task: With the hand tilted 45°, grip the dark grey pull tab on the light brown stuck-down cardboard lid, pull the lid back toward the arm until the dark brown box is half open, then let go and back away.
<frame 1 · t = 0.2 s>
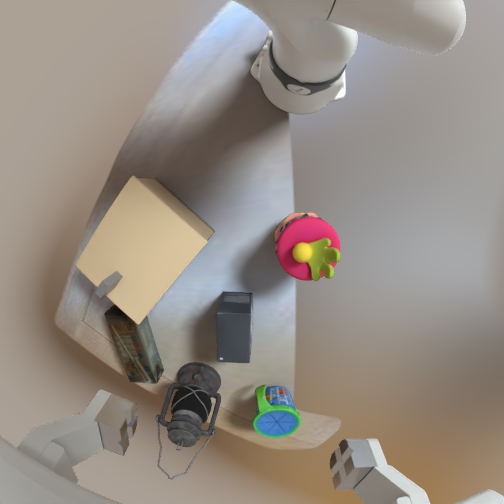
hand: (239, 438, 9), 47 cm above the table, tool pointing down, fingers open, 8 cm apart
beverage carton: (140, 337, 62), on the table
snack cup: (275, 395, 65), on the table
cake: (300, 237, 56), on the table
lid flap: (126, 258, 43), point 13 cm above the table, slide at 0.0 cm
small box: (237, 314, 60), on the table
cardboard box: (154, 241, 56), on the table
lantern: (199, 379, 64), on the table
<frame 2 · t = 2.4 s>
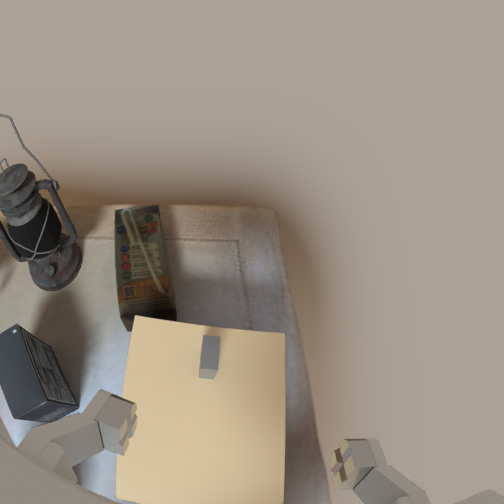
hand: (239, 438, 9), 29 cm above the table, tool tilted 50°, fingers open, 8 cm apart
beverage carton: (144, 275, 44), on the table
lid flap: (204, 421, 22), point 13 cm above the table, slide at 0.0 cm
small box: (49, 384, 30), on the table
lantern: (55, 263, 41), on the table
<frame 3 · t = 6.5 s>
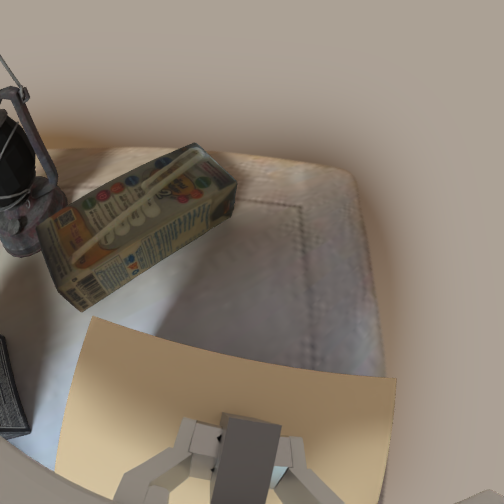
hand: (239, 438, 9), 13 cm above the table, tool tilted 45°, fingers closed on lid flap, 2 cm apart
beverage carton: (142, 239, 29), on the table
lantern: (33, 220, 27), on the table
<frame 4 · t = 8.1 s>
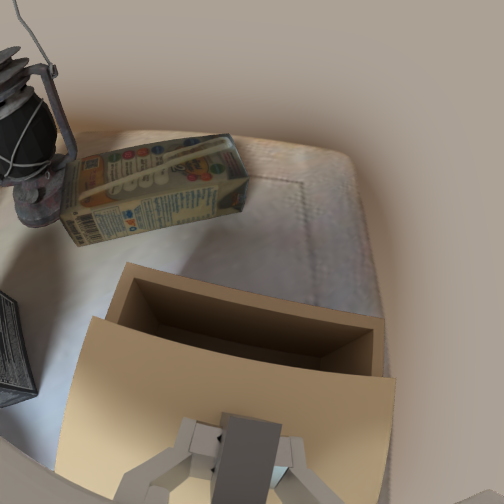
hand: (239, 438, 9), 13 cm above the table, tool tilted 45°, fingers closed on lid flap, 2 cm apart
beverage carton: (155, 206, 31), on the table
small box: (6, 355, 19), on the table
cardboard box: (218, 446, 19), on the table
lantern: (49, 195, 30), on the table
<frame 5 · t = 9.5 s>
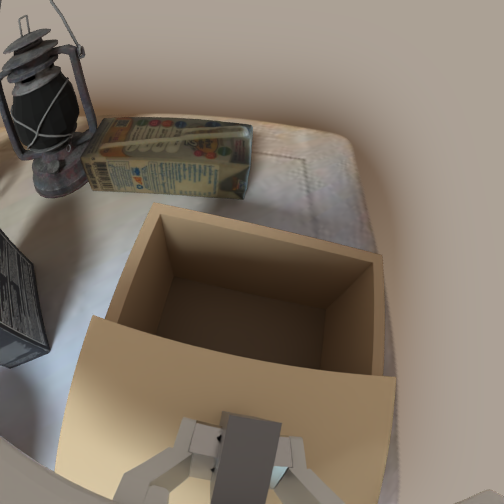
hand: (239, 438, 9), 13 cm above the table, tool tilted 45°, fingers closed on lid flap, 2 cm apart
beverage carton: (170, 175, 34), on the table
small box: (19, 315, 22), on the table
cardboard box: (229, 395, 22), on the table
lantern: (66, 169, 32), on the table
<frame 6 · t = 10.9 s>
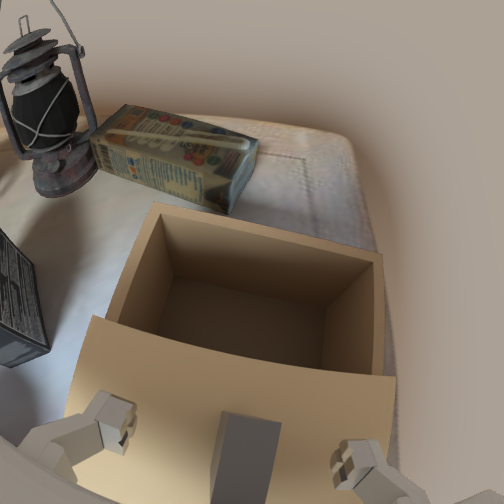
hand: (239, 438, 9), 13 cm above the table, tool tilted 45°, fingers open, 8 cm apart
beverage carton: (171, 172, 34), on the table
small box: (19, 315, 22), on the table
cardboard box: (229, 394, 22), on the table
lantern: (66, 169, 32), on the table
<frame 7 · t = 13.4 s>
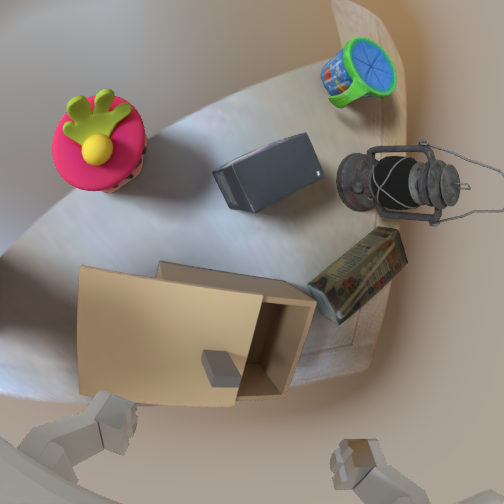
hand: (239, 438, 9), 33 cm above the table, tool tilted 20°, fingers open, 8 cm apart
beverage carton: (349, 268, 52), on the table
snack cup: (336, 81, 43), on the table
cake: (109, 154, 34), on the table
lid flap: (166, 362, 28), point 13 cm above the table, slide at 8.9 cm
small box: (250, 174, 41), on the table
cardboard box: (214, 320, 44), on the table
lantern: (358, 181, 49), on the table
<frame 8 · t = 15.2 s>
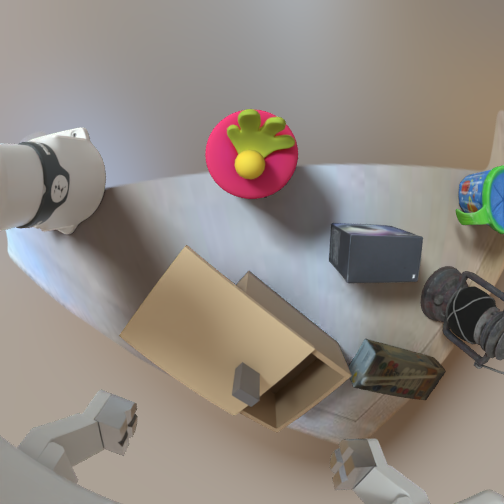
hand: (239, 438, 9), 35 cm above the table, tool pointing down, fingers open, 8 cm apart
beverage carton: (392, 362, 48), on the table
snack cup: (470, 194, 40), on the table
cake: (253, 160, 41), on the table
lid flap: (208, 356, 33), point 13 cm above the table, slide at 8.9 cm
small box: (361, 242, 43), on the table
cardboard box: (263, 341, 47), on the table
lantern: (442, 293, 45), on the table
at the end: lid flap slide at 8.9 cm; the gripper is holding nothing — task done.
